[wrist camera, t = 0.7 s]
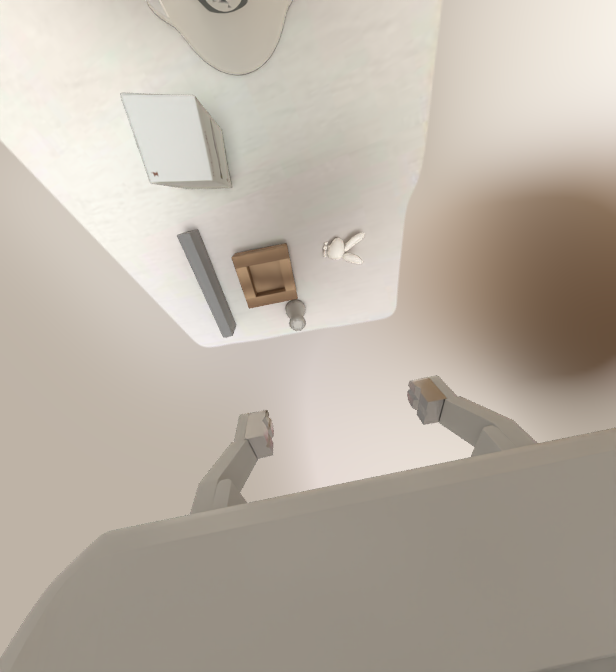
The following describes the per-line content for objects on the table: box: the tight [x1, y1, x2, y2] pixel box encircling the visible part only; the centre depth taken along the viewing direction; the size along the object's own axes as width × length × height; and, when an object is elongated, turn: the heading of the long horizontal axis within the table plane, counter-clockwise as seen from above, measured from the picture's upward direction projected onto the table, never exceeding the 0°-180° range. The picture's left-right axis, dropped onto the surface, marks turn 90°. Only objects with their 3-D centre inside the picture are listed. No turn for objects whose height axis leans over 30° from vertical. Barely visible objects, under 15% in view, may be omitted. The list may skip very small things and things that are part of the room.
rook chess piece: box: [286, 300, 306, 331], centre depth 45 cm, size 4×4×8 cm
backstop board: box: [177, 230, 236, 338], centre depth 42 cm, size 20×2×4 cm, turn 9°
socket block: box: [232, 243, 298, 308], centre depth 42 cm, size 10×10×4 cm
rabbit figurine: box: [323, 233, 365, 264], centre depth 41 cm, size 6×4×8 cm
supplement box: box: [120, 93, 232, 189], centre depth 28 cm, size 7×7×13 cm
